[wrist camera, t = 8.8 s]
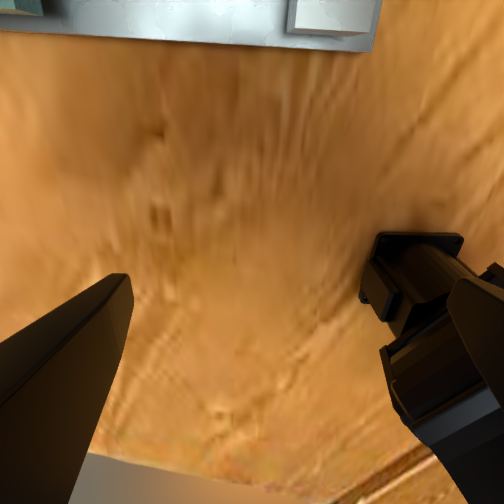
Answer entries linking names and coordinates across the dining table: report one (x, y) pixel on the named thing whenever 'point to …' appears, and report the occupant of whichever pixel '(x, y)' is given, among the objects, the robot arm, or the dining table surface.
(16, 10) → the teal lever with handle
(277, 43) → the gauge plate
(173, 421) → the dining table surface
